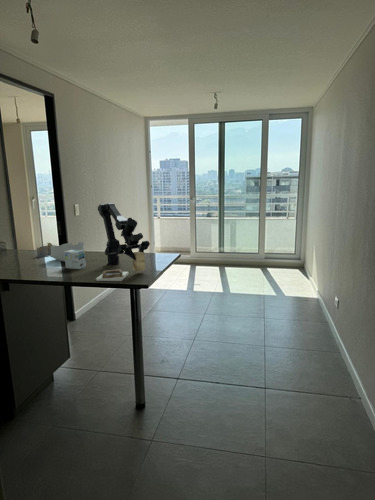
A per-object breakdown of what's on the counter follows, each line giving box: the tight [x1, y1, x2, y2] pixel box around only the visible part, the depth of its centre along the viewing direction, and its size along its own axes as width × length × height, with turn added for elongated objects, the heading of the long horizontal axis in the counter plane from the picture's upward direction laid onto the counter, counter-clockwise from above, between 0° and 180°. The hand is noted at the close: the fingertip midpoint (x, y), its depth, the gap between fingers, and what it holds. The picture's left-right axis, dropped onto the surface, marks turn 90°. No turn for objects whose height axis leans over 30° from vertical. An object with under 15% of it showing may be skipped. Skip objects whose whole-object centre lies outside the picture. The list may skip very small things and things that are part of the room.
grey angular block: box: [50, 241, 85, 263], centre depth 227 cm, size 20×19×12 cm
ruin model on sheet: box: [36, 242, 54, 258], centre depth 243 cm, size 11×3×10 cm, turn 149°
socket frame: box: [102, 269, 123, 278], centre depth 181 cm, size 10×10×2 cm
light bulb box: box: [64, 249, 87, 270], centre depth 204 cm, size 11×7×11 cm, turn 71°
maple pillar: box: [131, 251, 146, 272], centre depth 186 cm, size 5×5×10 cm
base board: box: [95, 271, 130, 282], centre depth 181 cm, size 14×14×1 cm
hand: (139, 259), depth 185 cm, fingers closed on maple pillar, 5 cm apart
